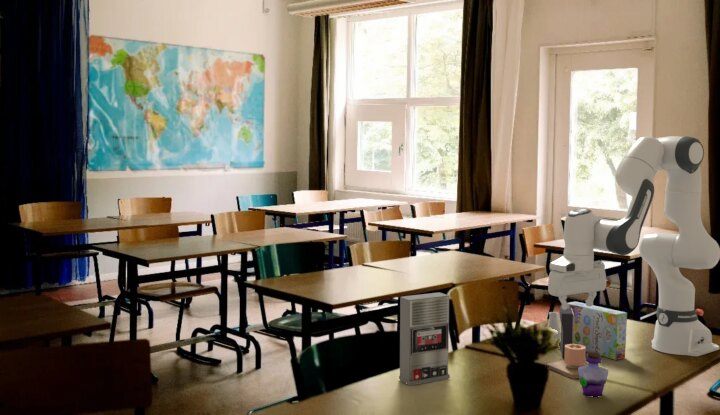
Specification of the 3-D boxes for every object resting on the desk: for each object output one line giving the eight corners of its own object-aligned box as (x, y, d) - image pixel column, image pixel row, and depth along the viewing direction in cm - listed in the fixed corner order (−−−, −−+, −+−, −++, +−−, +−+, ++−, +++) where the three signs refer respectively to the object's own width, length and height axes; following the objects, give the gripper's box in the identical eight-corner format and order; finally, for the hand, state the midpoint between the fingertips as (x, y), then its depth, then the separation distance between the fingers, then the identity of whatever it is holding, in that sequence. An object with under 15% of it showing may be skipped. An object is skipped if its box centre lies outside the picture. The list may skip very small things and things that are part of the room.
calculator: (574, 360, 245) (575, 314, 243) (560, 359, 245) (561, 313, 244) (571, 350, 255) (573, 306, 254) (558, 349, 256) (559, 305, 255)
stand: (576, 362, 242) (576, 340, 241) (603, 373, 231) (604, 349, 230) (545, 367, 237) (546, 344, 236) (572, 378, 226) (573, 354, 225)
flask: (564, 339, 269) (565, 311, 268) (562, 344, 262) (563, 316, 261) (543, 337, 271) (543, 310, 270) (540, 342, 265) (541, 314, 264)
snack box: (626, 357, 247) (628, 312, 246) (615, 360, 244) (617, 314, 242) (574, 343, 265) (575, 300, 263) (563, 345, 261) (564, 302, 260)
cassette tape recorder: (409, 386, 219) (410, 300, 216) (399, 380, 224) (399, 296, 222) (450, 379, 225) (451, 296, 223) (438, 373, 230) (439, 292, 228)
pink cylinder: (575, 358, 238) (576, 343, 237) (589, 364, 232) (589, 347, 232) (560, 361, 235) (560, 345, 235) (573, 366, 230) (574, 350, 229)
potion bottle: (570, 394, 212) (572, 352, 211) (584, 386, 219) (586, 345, 217) (600, 401, 206) (601, 358, 205) (613, 393, 213) (615, 351, 212)
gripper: (597, 258, 239) (595, 301, 240) (545, 264, 230) (544, 309, 231) (611, 261, 233) (610, 305, 235) (559, 267, 224) (558, 313, 226)
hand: (577, 307), depth 233 cm, fingers open, 8 cm apart
